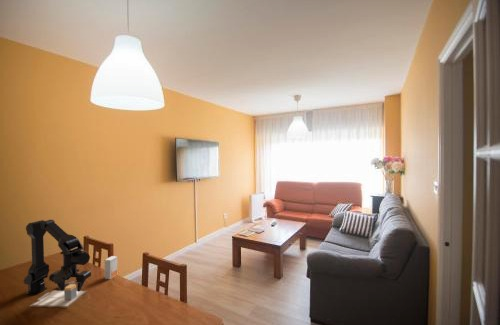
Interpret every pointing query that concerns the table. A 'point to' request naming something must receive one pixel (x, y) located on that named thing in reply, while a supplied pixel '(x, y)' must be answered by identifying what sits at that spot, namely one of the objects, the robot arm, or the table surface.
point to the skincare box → (110, 267)
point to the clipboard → (56, 299)
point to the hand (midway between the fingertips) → (70, 291)
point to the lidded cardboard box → (70, 292)
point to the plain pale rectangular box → (68, 283)
